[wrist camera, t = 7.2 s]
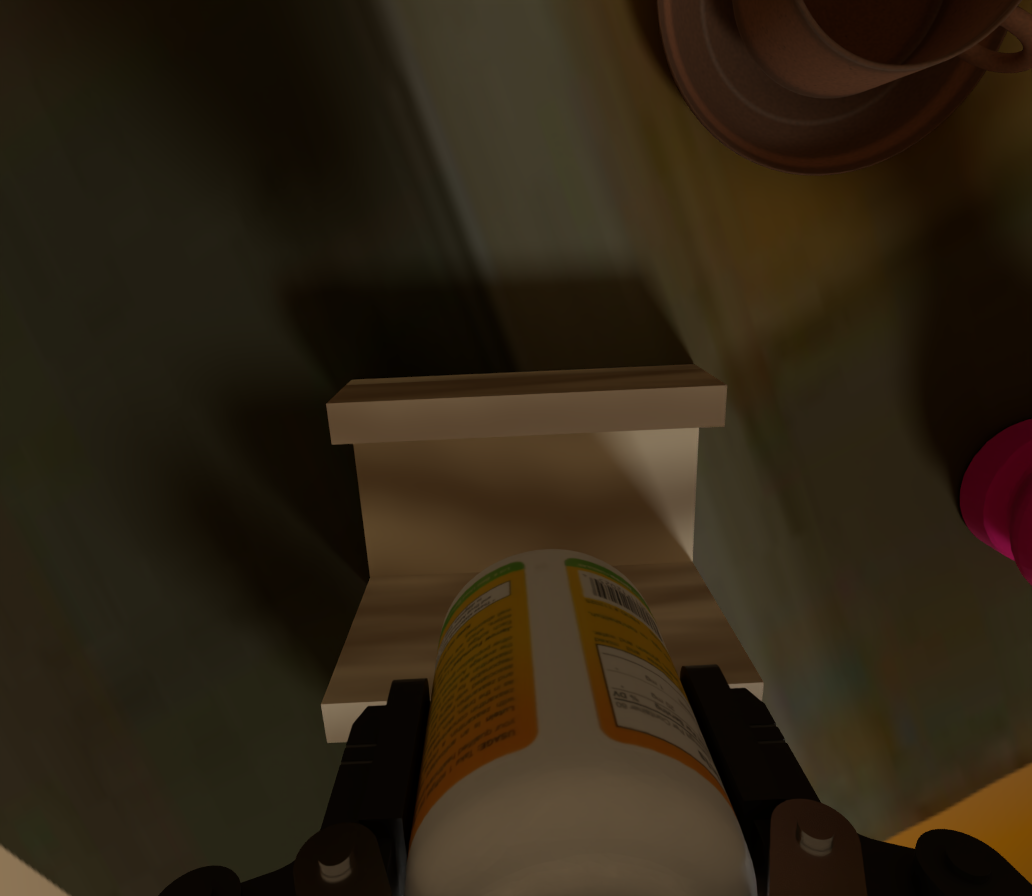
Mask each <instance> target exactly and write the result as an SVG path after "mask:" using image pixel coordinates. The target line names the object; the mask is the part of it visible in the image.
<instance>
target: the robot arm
mask: <svg viewBox="0 0 1032 896" xmlns="http://www.w3.org/2000/svg"><path fill="white" fill-rule="evenodd" d="M680 681H681V684H682V686H683V689H684V691H685V694H686V696H687V698H688V701H689V703H690V706H691V708H692V710H693V713H694V715H695V718H696V721H697V723H698V726H699V728H700V731H701V733H702V735H703V738H704V740H705V743H706V745H707V748H708V750H709V752H710V755H711V757H712V760H713V762H714V764H715V767H716V769H717V772H718V774H719V776H720V779H721V781H722V784H723V786H724V789H725V791H726V793H727V796H728V798H729V800H730V803H731V805H732V807H733V810H734V812H735V815H736V817H737V820H738V822H739V825H740V827H741V830H742V833H743V836H744V839H745V842H746V844H747V847H748V850H749V853H750V856H751V859H752V862H753V867H754V872H755V877H756V883H757V895H758V896H1032V885H1031V884H1030V883H1029V882H1028V881H1027V880H1026V879H1025V878H1024V877H1023V876H1022V875H1021V874H1020V873H1019V872H1018V871H1017V870H1016V869H1015V868H1014V867H1013V866H1012V865H1011V864H1010V863H1009V862H1007V860H1006V859H1005V858H1003V857H1002V856H1001V855H1000V854H999V853H998V852H997V851H995V850H994V849H992V848H991V847H990V846H988V845H987V844H985V843H984V842H982V841H980V840H978V839H976V838H974V837H972V836H970V835H967V834H964V833H962V832H957V831H954V830H947V829H935V830H930V831H928V832H925V833H924V834H922V835H921V836H920V837H919V839H918V840H917V843H916V847H915V849H913V848H908V847H904V846H899V845H895V844H890V843H886V842H882V841H877V840H874V839H870V838H867V837H865V836H862V835H860V834H858V833H857V832H856V830H855V829H854V827H853V826H852V825H851V824H850V822H849V821H848V820H847V819H846V818H845V817H844V816H843V815H841V814H840V813H839V812H837V811H836V810H834V809H833V808H831V807H829V806H827V805H825V804H822V803H821V802H820V800H819V798H818V797H817V795H816V793H815V791H814V790H813V788H812V786H811V784H810V783H809V781H808V779H807V777H806V775H805V774H804V772H803V770H802V768H801V767H800V765H799V763H798V761H797V760H796V758H795V756H794V754H793V753H792V751H791V749H790V747H789V746H788V744H787V743H785V739H784V737H783V735H782V733H781V732H780V730H779V728H778V727H776V723H775V721H774V719H773V718H772V716H771V714H770V712H769V711H768V709H767V707H766V705H765V704H764V703H763V702H762V701H761V700H759V699H758V698H757V697H756V696H755V695H754V694H752V693H751V692H750V691H749V690H748V689H746V688H730V687H729V685H728V683H727V681H726V679H725V677H724V675H723V673H722V671H721V669H720V667H719V666H718V665H717V664H710V665H690V666H682V667H681V671H680ZM429 707H430V693H429V684H428V679H427V678H417V679H398V680H393V681H392V683H391V687H390V691H389V695H388V699H387V704H386V705H378V706H367V707H366V709H365V710H364V711H363V712H362V713H361V715H360V716H359V717H358V718H357V719H356V720H355V722H354V723H353V724H352V727H351V731H350V734H349V737H348V740H347V744H346V748H345V750H344V754H343V757H342V760H341V765H340V767H339V770H338V774H337V777H336V780H335V783H334V787H333V790H332V793H331V797H330V800H329V803H328V807H327V810H326V813H325V817H324V820H323V823H322V826H321V829H320V831H319V832H317V833H316V834H314V835H313V836H312V837H310V838H309V839H308V840H307V841H306V842H305V844H304V845H303V846H302V848H301V849H300V851H299V852H298V854H297V856H296V859H295V861H293V862H292V863H290V864H289V865H287V866H285V867H283V868H281V869H279V870H276V871H274V872H271V873H268V874H265V875H262V876H259V877H257V878H254V879H251V880H248V881H245V882H242V883H240V880H239V878H238V876H237V875H236V873H234V872H233V871H232V870H231V869H229V868H226V867H222V866H206V867H202V868H198V869H195V870H193V871H190V872H188V873H186V874H184V875H182V876H181V877H179V878H178V879H176V880H175V881H173V882H172V883H171V884H170V885H168V886H167V887H166V888H165V889H164V890H163V891H162V892H161V893H160V894H159V896H404V889H405V881H406V865H407V858H408V850H409V840H410V835H411V829H412V822H413V815H414V809H415V802H416V795H417V787H418V781H419V774H420V768H421V761H422V754H423V747H424V740H425V733H426V726H427V720H428V713H429Z"/></svg>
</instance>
